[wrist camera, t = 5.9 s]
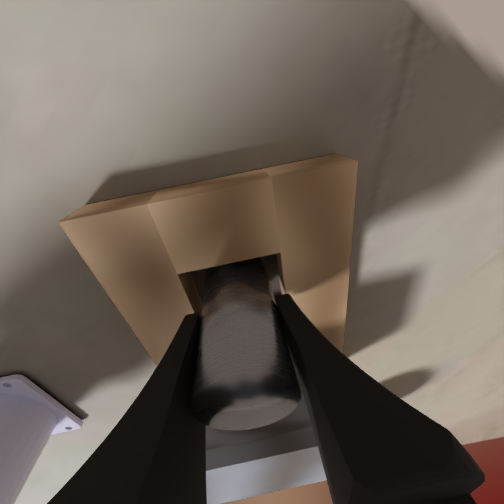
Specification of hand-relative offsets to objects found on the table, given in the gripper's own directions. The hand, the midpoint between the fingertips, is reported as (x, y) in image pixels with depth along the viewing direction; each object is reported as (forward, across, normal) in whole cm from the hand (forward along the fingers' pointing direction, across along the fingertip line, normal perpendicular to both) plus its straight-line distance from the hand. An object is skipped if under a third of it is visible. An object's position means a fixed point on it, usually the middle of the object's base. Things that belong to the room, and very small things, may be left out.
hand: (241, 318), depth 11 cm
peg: (+3, 0, 0) cm, 3 cm away
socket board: (+3, 0, +3) cm, 4 cm away
